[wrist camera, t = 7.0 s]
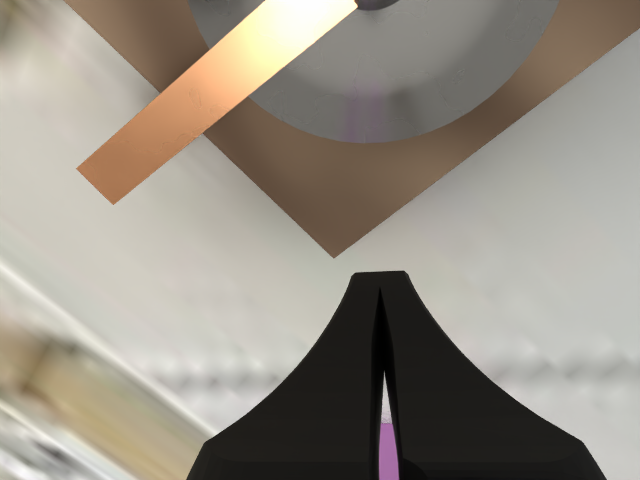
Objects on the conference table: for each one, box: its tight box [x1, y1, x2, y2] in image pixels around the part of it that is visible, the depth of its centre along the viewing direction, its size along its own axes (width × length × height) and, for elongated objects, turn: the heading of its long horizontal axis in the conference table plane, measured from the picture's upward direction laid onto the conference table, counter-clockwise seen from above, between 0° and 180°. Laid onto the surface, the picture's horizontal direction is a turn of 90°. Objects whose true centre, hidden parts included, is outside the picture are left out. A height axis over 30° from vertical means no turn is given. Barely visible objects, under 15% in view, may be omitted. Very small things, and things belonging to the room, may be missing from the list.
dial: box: [76, 0, 559, 205], centre depth 16 cm, size 17×12×4 cm
